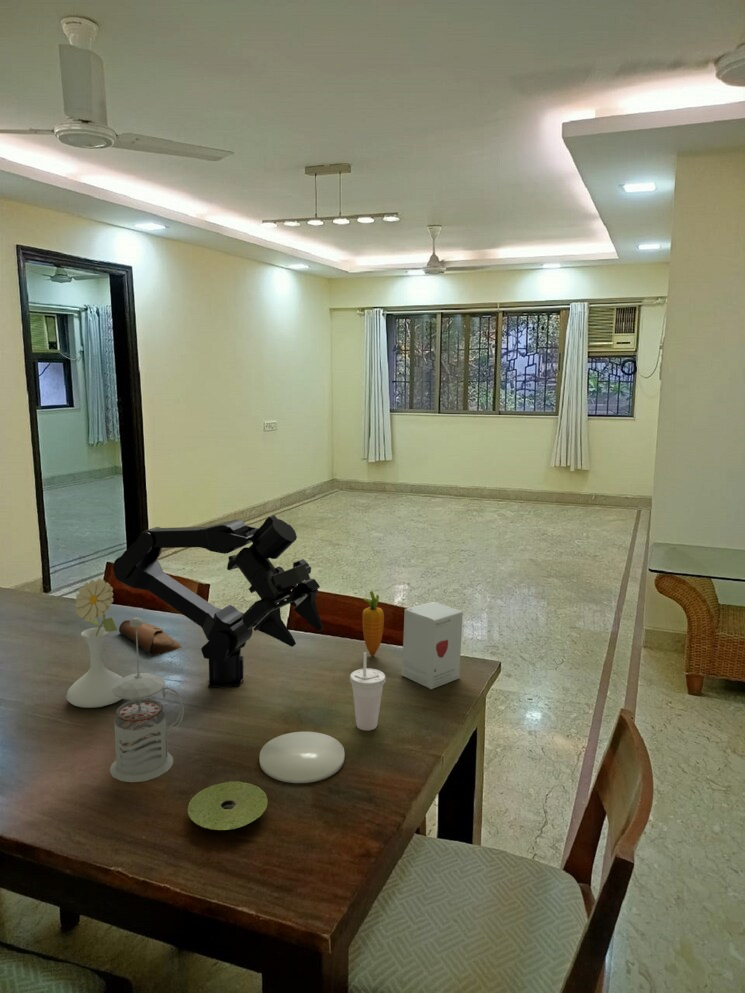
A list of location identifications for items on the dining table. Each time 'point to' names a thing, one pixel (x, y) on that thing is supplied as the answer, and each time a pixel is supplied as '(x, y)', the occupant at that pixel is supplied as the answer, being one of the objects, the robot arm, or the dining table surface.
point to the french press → (141, 726)
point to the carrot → (373, 624)
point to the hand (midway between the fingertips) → (308, 637)
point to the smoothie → (367, 695)
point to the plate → (302, 757)
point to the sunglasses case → (149, 638)
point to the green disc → (227, 805)
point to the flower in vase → (95, 648)
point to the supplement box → (432, 644)
